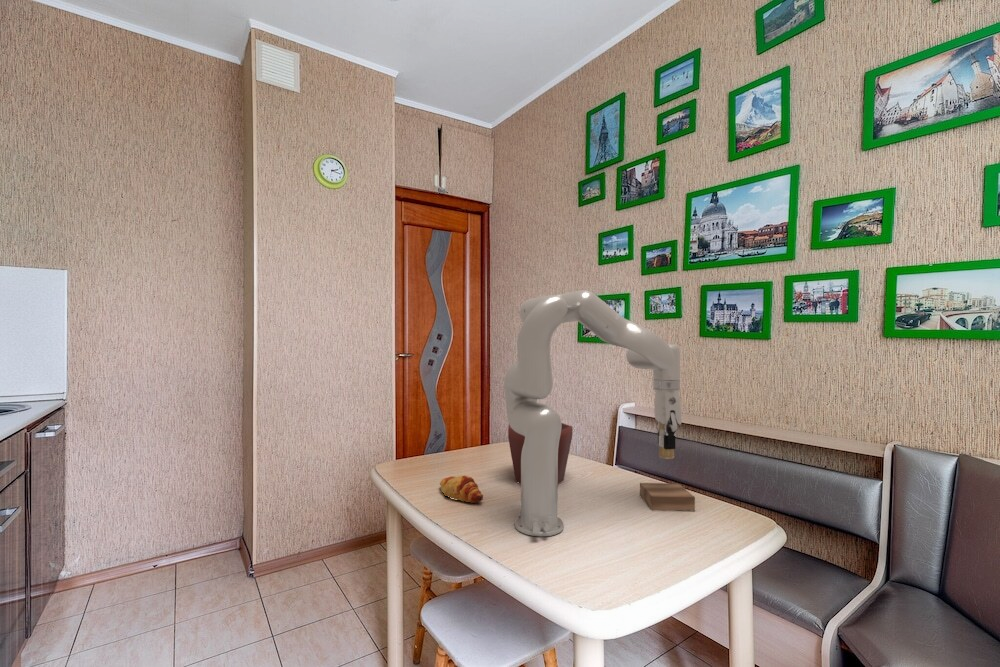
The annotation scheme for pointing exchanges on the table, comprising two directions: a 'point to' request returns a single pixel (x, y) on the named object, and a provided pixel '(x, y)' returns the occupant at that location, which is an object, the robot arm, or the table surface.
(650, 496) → the walnut plinth
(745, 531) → the table surface
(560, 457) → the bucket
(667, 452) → the sprinkles bottle
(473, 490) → the croissant
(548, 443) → the robot arm
